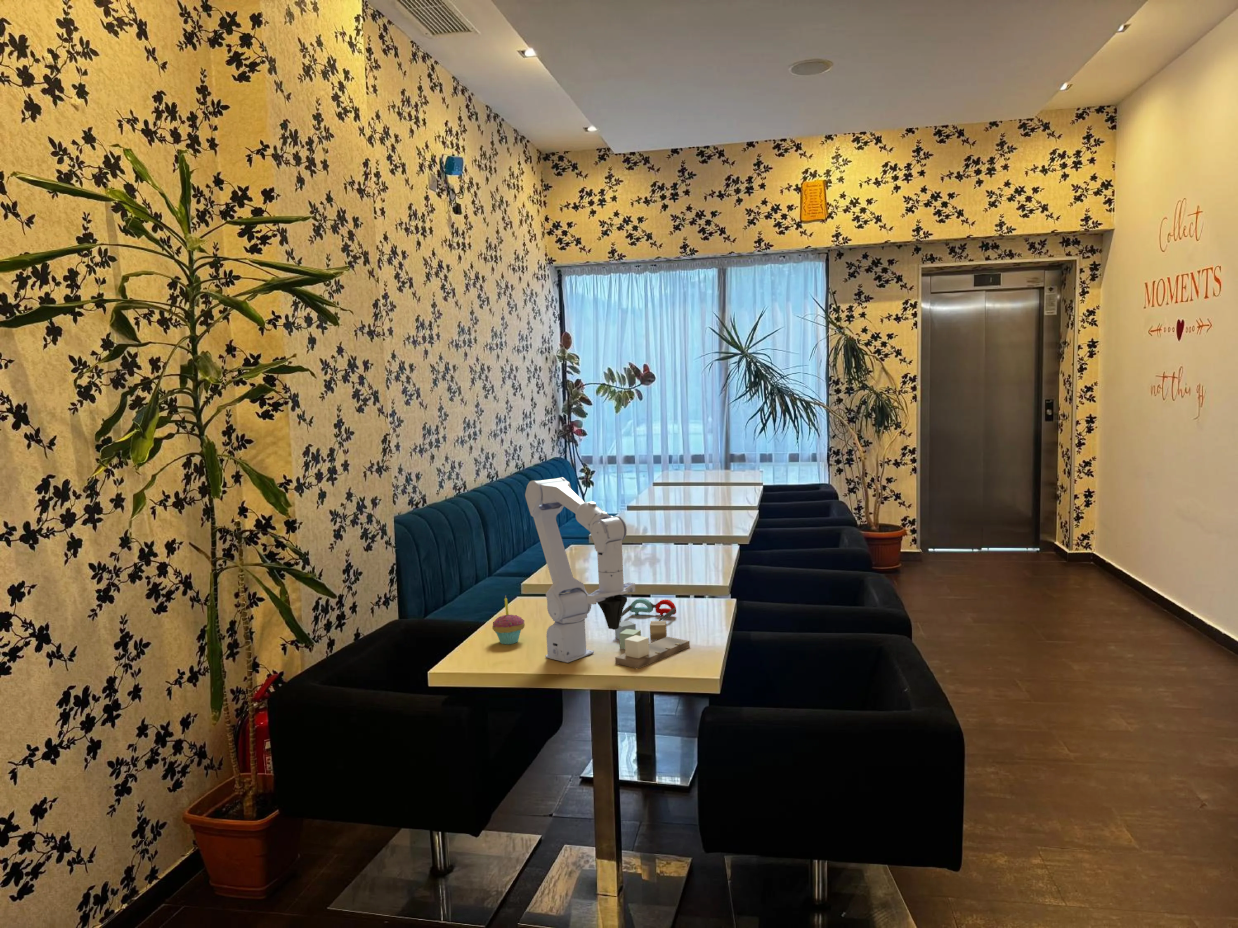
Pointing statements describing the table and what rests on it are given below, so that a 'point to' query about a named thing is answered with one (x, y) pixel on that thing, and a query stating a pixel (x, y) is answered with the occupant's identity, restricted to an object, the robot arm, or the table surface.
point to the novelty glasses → (651, 608)
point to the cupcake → (508, 627)
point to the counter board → (654, 652)
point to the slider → (636, 646)
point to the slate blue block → (624, 628)
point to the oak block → (658, 630)
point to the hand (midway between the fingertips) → (613, 628)
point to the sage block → (627, 636)
